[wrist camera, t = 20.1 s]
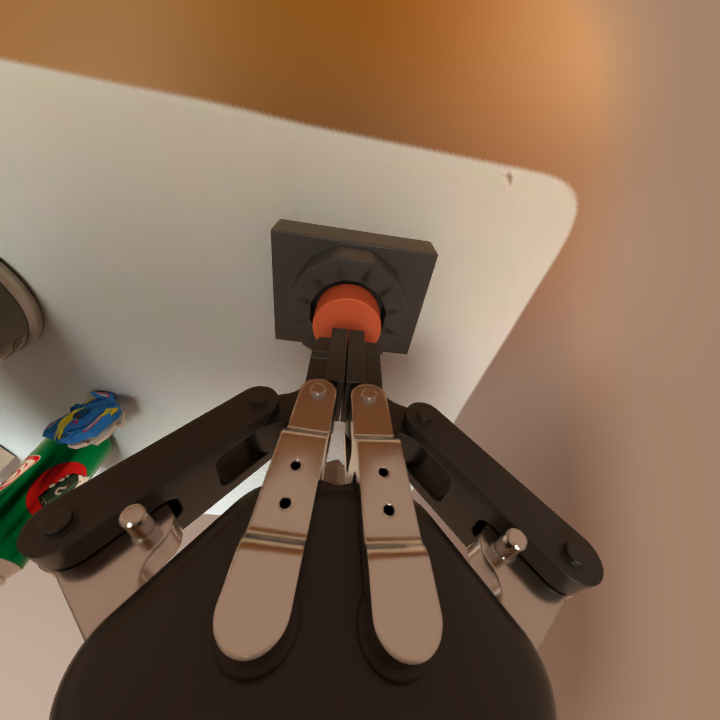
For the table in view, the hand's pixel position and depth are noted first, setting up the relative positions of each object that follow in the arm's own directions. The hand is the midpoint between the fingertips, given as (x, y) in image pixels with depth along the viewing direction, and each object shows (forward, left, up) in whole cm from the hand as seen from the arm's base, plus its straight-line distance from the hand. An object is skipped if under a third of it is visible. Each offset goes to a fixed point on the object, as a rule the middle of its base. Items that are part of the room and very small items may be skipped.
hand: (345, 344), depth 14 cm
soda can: (+3, -31, -7) cm, 32 cm away
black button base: (0, 0, -7) cm, 7 cm away
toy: (+1, -24, -7) cm, 25 cm away
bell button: (0, 0, -3) cm, 3 cm away
